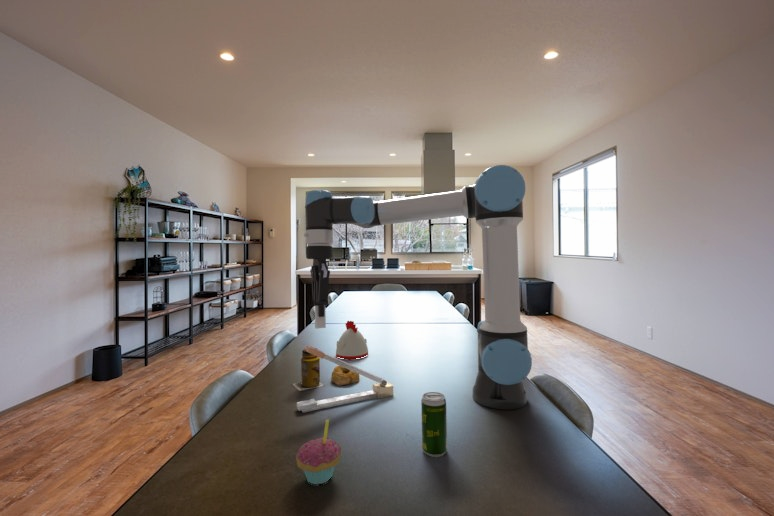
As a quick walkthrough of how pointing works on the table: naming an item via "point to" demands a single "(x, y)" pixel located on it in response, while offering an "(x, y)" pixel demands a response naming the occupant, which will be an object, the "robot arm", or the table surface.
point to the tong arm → (344, 364)
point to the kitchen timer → (351, 343)
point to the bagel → (344, 376)
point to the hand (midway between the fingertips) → (320, 327)
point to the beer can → (434, 424)
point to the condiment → (309, 372)
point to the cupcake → (319, 458)
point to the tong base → (347, 398)
